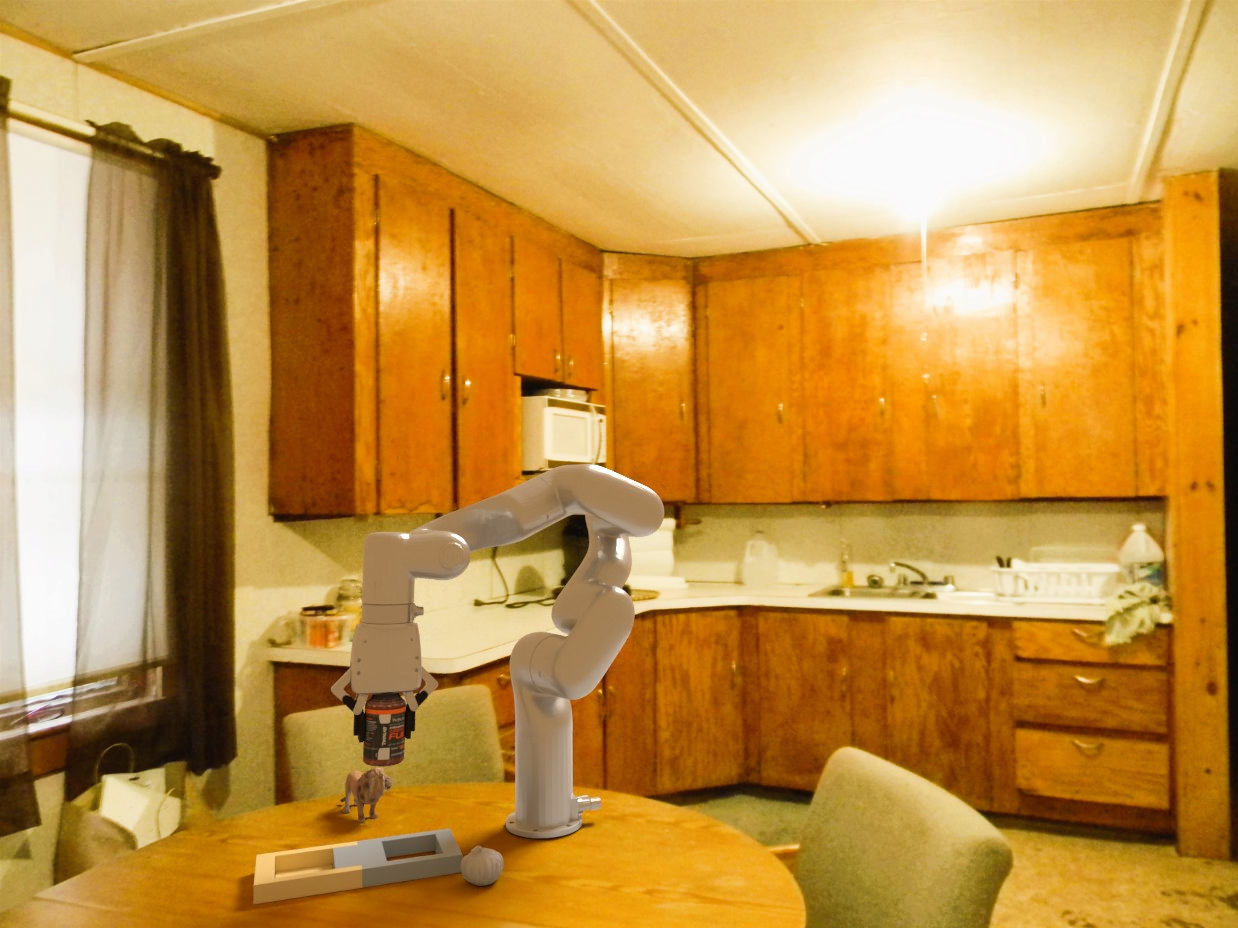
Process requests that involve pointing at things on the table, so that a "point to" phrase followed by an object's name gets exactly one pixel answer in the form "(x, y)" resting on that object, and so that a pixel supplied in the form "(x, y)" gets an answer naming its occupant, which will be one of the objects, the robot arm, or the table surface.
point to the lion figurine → (366, 790)
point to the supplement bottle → (384, 730)
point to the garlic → (482, 866)
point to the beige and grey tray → (354, 865)
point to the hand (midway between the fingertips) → (384, 737)
